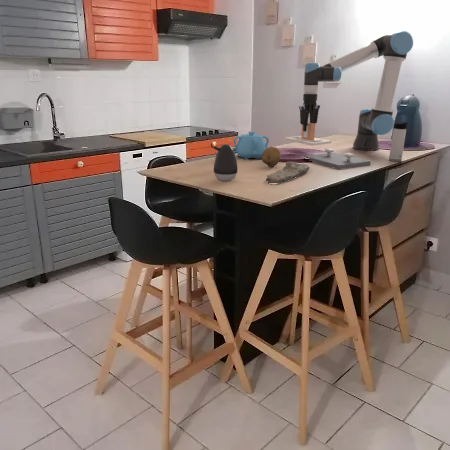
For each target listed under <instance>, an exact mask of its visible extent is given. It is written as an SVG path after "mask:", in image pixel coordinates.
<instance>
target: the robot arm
mask: <svg viewBox="0 0 450 450" xmlns="http://www.w3.org/2000/svg"><path fill="white" fill-rule="evenodd" d="M413 46H414V39H413V36H412V34H411V33H410V32H409V31H407V30H399V29H398V30H396V31H390V32H389V31H388V32H386V33H384V34H382V35H381V36H379V37H377V38H375V39H373V40H371V41H369V44H367V45H365V46H363V47H361V48H358V49H356V50H354V51H351V52H349V53H348V54H346V55H344V56H341V57H339V58H337V59H335V60H332V61H330V62H328V63H327V64H325V65H322V66H320V63H319V62H307V63H306V64H305V66H304V80H303V81H304V82H303V95H302V101H303V104H302V105H299V106H298V109H299V119H300V120H299V123H300V125H301V126H302V125H303V131H304V136H303V137H306V138H307V137H308V125H307V123H315V124H318V117H319V111H320V107H321V105H319V104H317V101H318V92H319V82H326V83H329V82H332V83H335V82H339V81H340V80H341V78H342V73H343V72H345V71H347V70H349V69H352V68H353V67H356V66H358V65H360V64H363V63H365V62H367V61H369V60H371V59H377V58H380V57H383V59H384V65H383V69H382V74H381V78H380V84H379V88H378V93H377V95H376V96H377V97H376V102H375V105H374V106H373V107H371V108H365V109H361V110H360V111H359V116H358V117H359V118H358V123H357V124H358V125H357V131H356V132H357V134H356V136H355V139H354V141H353V143H352V148H353V149H355V150H362V151H377V150H379V148H380V144H379V139H378V138H379V137H378V136H379V135H380V136H384V135H387V134H389V133H390V132H391V130H393V129H394V124H395V120H394V118H393V114H394V111H393V110H394V109H392V106H393V100H394V96H395V92H396V89H397V86H398V85H397V84H398V80H399V77H400V72H401V67H402V63H403V62H404V61H405V60H406V58H407V55H408V53H409V52H410V51H412V48H413Z"/></svg>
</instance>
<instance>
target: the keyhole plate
mask: <svg viewBox="0 0 450 450" xmlns="http://www.w3.org/2000/svg"><path fill="white" fill-rule="evenodd" d="M307 125H308V137H307V138H306V137H303V136H304V131H303V125H302V124H301V134H300V135H297V136H296V135H295V136H288V137H287V136H286V137H284V140H285V141H289V142H295V143H297V144H301V145H306V146H321V145H327V144H332V140H328V139H322V138H318V137H315V132H316V123H310V122H308V123H307Z"/></svg>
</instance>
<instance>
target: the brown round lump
mask: <svg viewBox="0 0 450 450" xmlns="http://www.w3.org/2000/svg"><path fill="white" fill-rule="evenodd" d="M267 147H268V146H267ZM281 156H282V154H281V151H280V150H279V149H278V148H277V147H275V146H269V147H268V148H267V149H265V150H264V152H263V154H262V157H261V161H262V163H264V164H265V165H267V166H268V167H269V168H274V167H276V166H277V165H278V164H279V162H280V160H281Z"/></svg>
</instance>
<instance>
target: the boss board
mask: <svg viewBox="0 0 450 450" xmlns="http://www.w3.org/2000/svg"><path fill="white" fill-rule="evenodd" d="M324 152H325V153H319V154H317V153H316V154H310V155H304V156H303V158H304V157H306V158H310V159H311V161H312V162H311V163H315V164H317V163H318V165H321V164H322V166H325V165H326V166H325V167H328V166H330V168H332V167H334V168H333V169H335V168H337V169H336V170H342V169H341V168H345V169H349V168H350V167H352V168H356V167H357V168H358V167H364V166H371V161H372V160H368V159H364V158H359V157H356V156H355V157H354V153H349V152H346V153H344V154H343V153H338V152H334V149H333V148H324Z"/></svg>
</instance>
